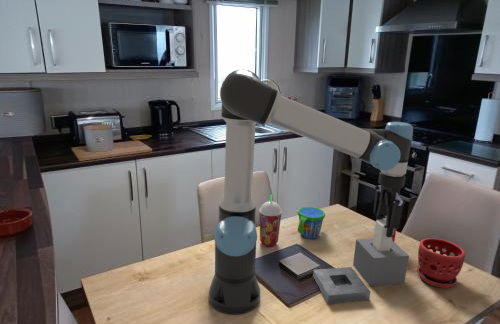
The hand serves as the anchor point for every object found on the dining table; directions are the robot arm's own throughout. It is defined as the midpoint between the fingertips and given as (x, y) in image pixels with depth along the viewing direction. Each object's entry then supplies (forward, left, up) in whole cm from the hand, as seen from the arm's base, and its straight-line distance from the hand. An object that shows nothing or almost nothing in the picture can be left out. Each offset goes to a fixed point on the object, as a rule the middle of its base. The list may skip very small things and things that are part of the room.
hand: (382, 241), depth 117 cm
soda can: (+11, +16, -12) cm, 23 cm away
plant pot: (+18, -5, -12) cm, 23 cm away
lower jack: (-16, -6, -12) cm, 21 cm away
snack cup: (-14, +29, -12) cm, 34 cm away
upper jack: (0, 0, -12) cm, 12 cm away
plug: (0, 0, -4) cm, 4 cm away
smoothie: (-32, +24, -12) cm, 42 cm away
